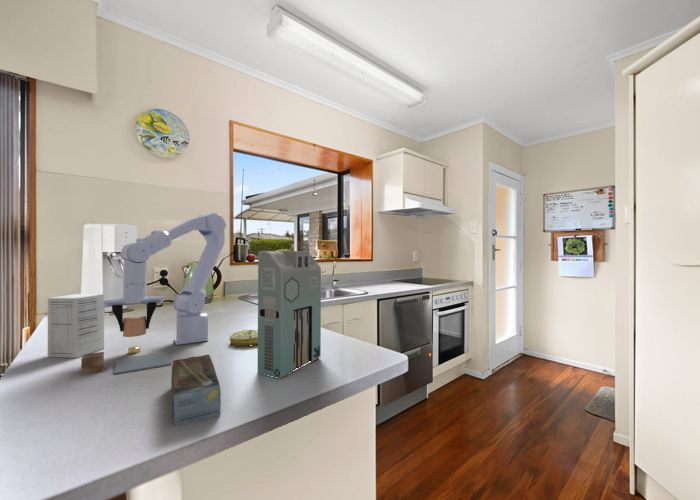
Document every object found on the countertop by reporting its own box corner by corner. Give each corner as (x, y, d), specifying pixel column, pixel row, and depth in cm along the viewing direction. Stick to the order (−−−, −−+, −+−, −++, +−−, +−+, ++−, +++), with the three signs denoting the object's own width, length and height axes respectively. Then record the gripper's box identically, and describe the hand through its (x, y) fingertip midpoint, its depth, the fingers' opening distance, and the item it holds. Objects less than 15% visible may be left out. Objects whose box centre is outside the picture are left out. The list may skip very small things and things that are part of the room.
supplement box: (105, 348, 98) (106, 293, 98) (76, 358, 88) (77, 297, 89) (77, 347, 99) (77, 293, 99) (45, 357, 89) (46, 297, 90)
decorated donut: (243, 338, 111) (243, 327, 111) (270, 340, 108) (270, 329, 108) (223, 346, 101) (223, 334, 101) (252, 349, 98) (252, 337, 98)
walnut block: (103, 367, 82) (103, 351, 82) (102, 372, 79) (102, 355, 79) (83, 370, 80) (83, 354, 80) (81, 375, 76) (81, 358, 76)
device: (281, 379, 74) (282, 251, 74) (256, 373, 78) (257, 251, 78) (320, 359, 88) (321, 251, 89) (298, 355, 92) (299, 251, 92)
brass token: (140, 350, 96) (140, 345, 96) (140, 353, 93) (140, 348, 93) (128, 352, 94) (128, 347, 94) (128, 355, 92) (128, 349, 92)
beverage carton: (170, 429, 53) (171, 389, 53) (171, 387, 70) (171, 357, 70) (221, 417, 57) (221, 380, 57) (210, 380, 74) (210, 352, 74)
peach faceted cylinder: (145, 331, 98) (145, 314, 98) (146, 335, 93) (146, 318, 93) (123, 333, 95) (123, 316, 95) (122, 337, 90) (123, 320, 90)
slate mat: (167, 353, 93) (167, 351, 93) (170, 365, 83) (170, 363, 83) (116, 360, 87) (116, 359, 87) (113, 374, 77) (113, 372, 77)
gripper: (103, 286, 87) (102, 335, 87) (164, 283, 95) (164, 328, 95) (105, 283, 93) (104, 330, 92) (162, 281, 101) (162, 324, 101)
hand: (134, 329), depth 94 cm, fingers closed on peach faceted cylinder, 6 cm apart
